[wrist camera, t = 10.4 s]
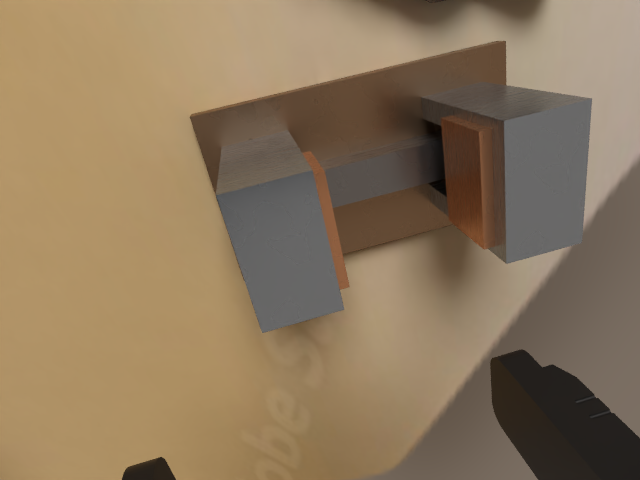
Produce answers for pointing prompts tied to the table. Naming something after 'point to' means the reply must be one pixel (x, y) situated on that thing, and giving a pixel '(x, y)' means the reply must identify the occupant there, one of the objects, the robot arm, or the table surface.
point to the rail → (431, 151)
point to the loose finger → (282, 229)
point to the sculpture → (434, 1)
